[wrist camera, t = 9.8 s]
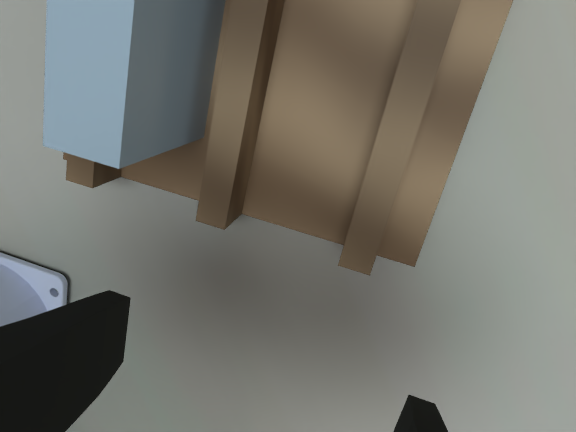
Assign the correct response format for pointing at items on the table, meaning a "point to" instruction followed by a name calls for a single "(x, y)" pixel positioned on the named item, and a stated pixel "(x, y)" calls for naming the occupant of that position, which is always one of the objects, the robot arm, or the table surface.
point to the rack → (331, 119)
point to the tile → (128, 76)
